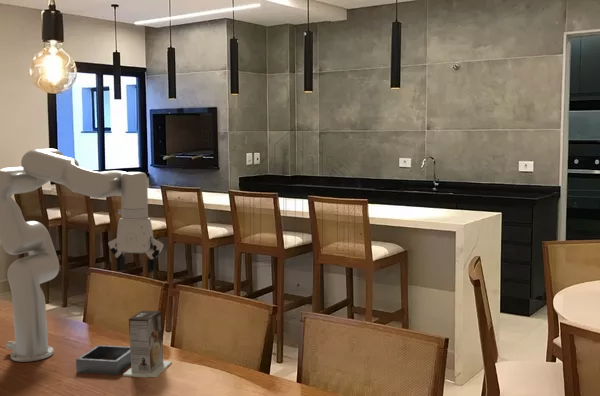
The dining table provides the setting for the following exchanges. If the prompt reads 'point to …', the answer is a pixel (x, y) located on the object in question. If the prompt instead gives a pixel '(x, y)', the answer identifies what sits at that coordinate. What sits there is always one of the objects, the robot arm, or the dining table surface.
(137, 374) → the placemat
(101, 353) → the holder
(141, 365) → the coffee box
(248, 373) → the dining table surface
